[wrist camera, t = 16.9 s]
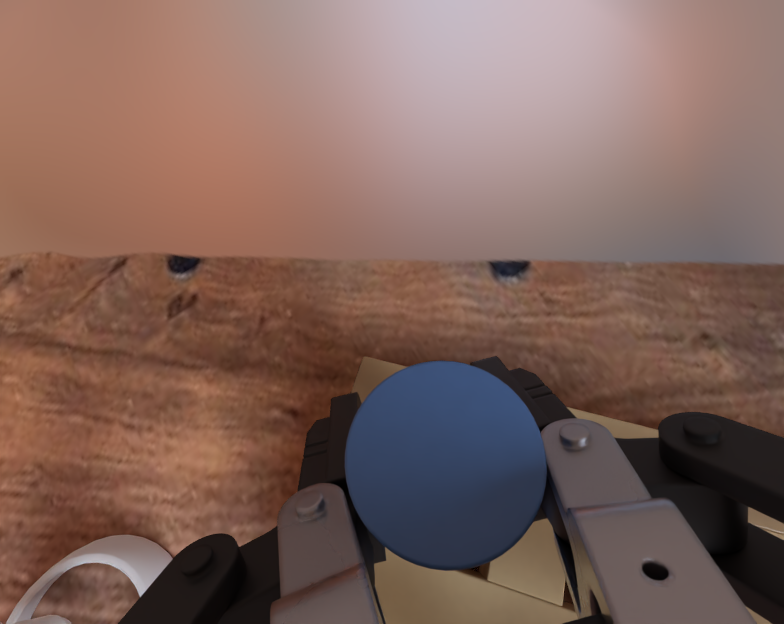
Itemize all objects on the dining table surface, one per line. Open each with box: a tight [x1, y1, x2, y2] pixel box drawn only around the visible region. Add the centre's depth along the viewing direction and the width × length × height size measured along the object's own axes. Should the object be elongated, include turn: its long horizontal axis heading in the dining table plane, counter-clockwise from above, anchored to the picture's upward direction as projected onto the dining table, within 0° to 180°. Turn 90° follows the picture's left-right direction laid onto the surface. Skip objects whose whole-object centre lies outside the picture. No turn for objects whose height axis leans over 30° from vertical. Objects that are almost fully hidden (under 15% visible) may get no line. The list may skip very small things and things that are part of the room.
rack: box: [351, 356, 784, 624], centre depth 16 cm, size 9×23×4 cm, turn 73°
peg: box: [345, 361, 547, 571], centre depth 11 cm, size 3×3×9 cm
